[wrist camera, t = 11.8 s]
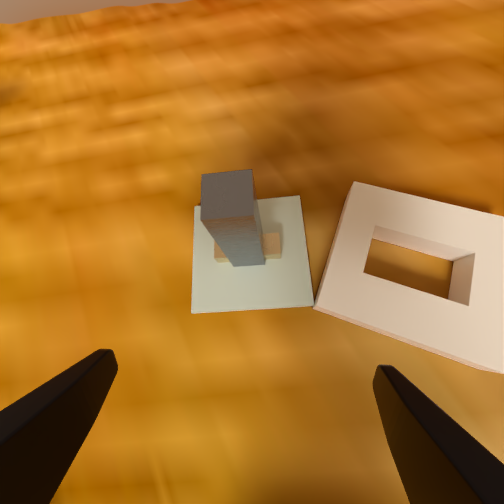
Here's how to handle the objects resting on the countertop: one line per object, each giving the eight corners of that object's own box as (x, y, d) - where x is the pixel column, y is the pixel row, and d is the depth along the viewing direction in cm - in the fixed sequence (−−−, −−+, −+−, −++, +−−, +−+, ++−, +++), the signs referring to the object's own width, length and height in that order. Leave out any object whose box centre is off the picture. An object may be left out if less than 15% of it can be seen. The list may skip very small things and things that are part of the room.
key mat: (313, 305, 21) (314, 305, 21) (193, 313, 22) (191, 312, 22) (299, 198, 25) (299, 195, 24) (196, 208, 26) (194, 206, 25)
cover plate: (477, 369, 18) (506, 374, 16) (312, 308, 21) (316, 305, 19) (492, 232, 21) (518, 220, 19) (346, 195, 24) (353, 181, 22)
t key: (281, 263, 22) (281, 212, 13) (218, 267, 23) (174, 222, 13) (278, 233, 23) (277, 166, 14) (218, 238, 24) (177, 177, 14)
